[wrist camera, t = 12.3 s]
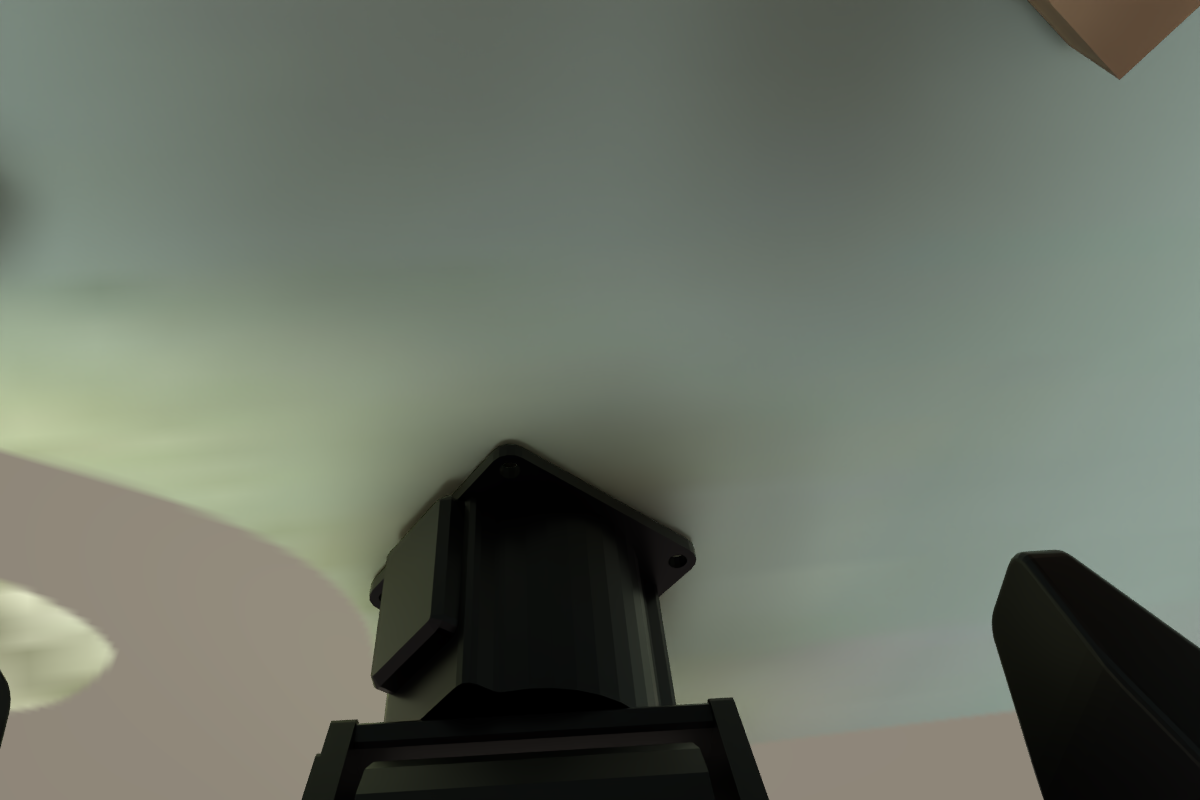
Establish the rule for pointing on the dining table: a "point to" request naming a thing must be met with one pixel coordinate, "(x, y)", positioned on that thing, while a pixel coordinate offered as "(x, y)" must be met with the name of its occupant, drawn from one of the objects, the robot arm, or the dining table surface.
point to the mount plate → (1114, 27)
